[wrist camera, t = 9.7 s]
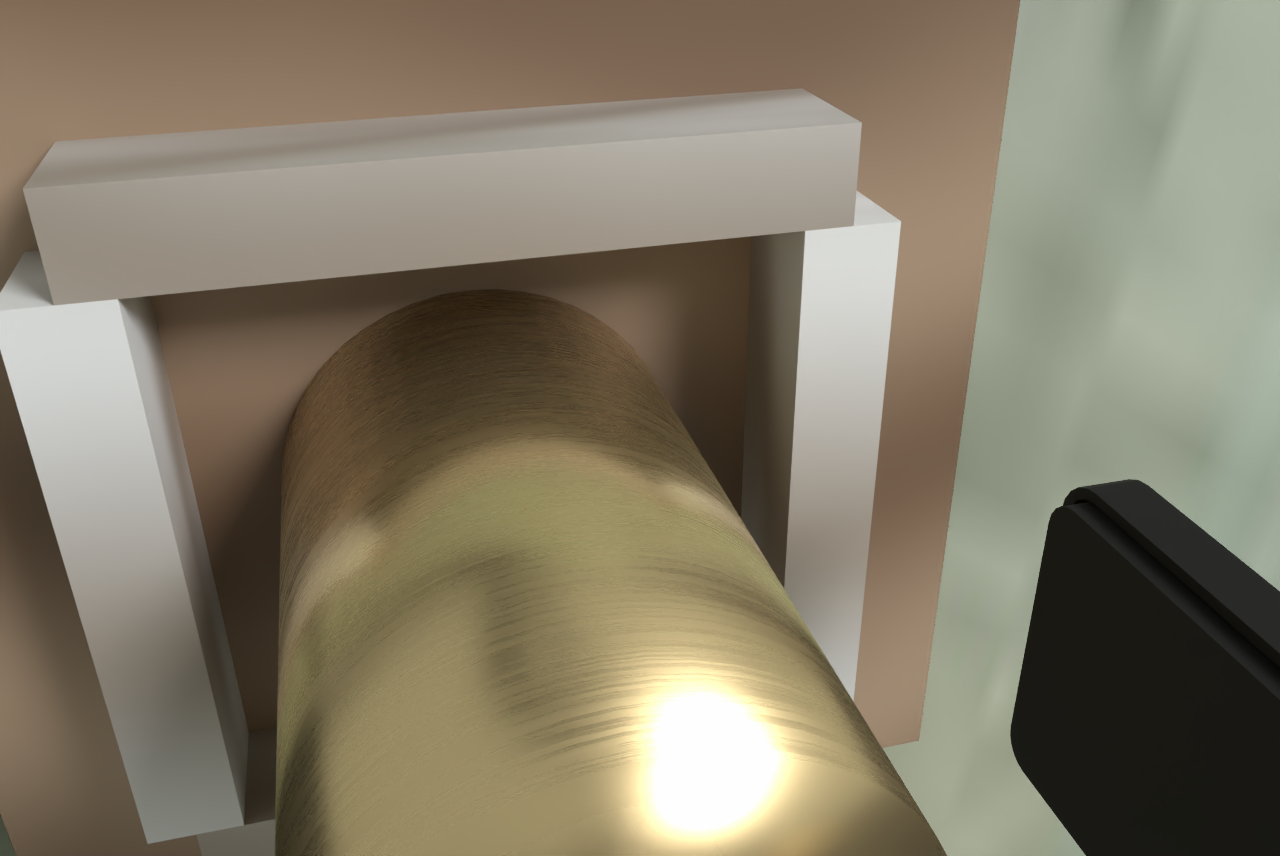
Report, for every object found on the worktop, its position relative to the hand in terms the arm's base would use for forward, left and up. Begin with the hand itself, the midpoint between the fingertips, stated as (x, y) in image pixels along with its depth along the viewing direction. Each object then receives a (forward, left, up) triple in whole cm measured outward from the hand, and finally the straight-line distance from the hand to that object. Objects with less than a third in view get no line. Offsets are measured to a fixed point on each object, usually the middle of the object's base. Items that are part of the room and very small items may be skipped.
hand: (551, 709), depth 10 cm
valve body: (0, 0, -4) cm, 4 cm away
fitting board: (0, 0, -6) cm, 6 cm away
